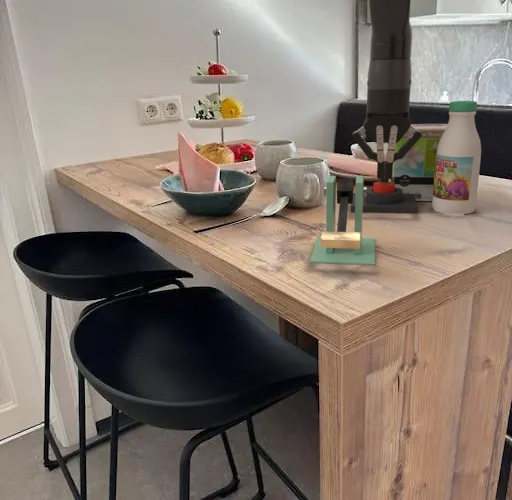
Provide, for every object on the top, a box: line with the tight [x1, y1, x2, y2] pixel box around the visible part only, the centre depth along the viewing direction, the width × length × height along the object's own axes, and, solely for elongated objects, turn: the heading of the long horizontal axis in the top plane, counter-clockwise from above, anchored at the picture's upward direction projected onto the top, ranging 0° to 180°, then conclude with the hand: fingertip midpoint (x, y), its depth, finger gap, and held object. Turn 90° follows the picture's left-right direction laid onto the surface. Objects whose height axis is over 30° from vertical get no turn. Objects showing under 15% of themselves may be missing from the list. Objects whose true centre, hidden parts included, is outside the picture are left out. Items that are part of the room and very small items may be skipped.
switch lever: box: [320, 178, 361, 249], centre depth 68 cm, size 12×5×2 cm, turn 167°
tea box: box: [388, 123, 448, 202], centre depth 103 cm, size 15×10×15 cm, turn 80°
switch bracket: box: [309, 175, 376, 267], centre depth 73 cm, size 11×9×12 cm
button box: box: [350, 186, 419, 215], centre depth 97 cm, size 12×10×4 cm
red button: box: [372, 180, 395, 193], centre depth 96 cm, size 4×4×2 cm
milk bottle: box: [431, 100, 482, 215], centre depth 92 cm, size 8×8×20 cm
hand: (384, 181), depth 96 cm, fingers closed
